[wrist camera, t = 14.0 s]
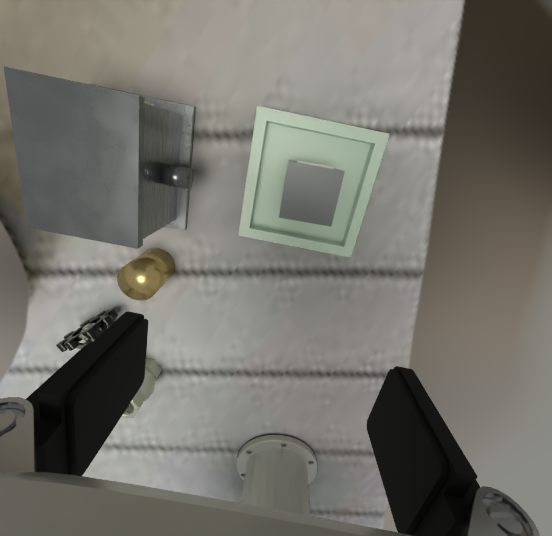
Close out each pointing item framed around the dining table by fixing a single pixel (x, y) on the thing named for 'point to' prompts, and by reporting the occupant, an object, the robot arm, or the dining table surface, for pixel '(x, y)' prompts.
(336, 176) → the block
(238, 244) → the dining table surface
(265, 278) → the dining table surface
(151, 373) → the valve
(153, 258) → the cylinder
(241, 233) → the tray
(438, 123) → the dining table surface
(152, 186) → the box
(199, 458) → the dining table surface
